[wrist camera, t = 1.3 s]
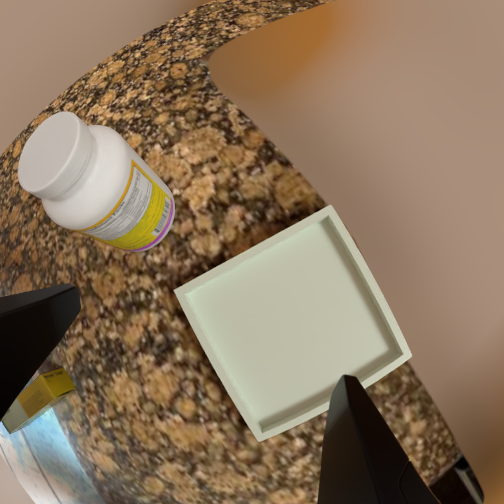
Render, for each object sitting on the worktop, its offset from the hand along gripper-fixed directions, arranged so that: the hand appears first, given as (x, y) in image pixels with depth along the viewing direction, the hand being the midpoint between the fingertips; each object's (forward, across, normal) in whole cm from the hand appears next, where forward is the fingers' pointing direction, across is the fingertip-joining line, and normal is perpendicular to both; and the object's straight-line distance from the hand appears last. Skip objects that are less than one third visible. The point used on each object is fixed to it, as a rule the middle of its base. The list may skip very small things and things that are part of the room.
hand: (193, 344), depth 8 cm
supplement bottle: (+15, +11, +2) cm, 19 cm away
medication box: (+4, +18, +21) cm, 28 cm away
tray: (+12, -4, +7) cm, 14 cm away
